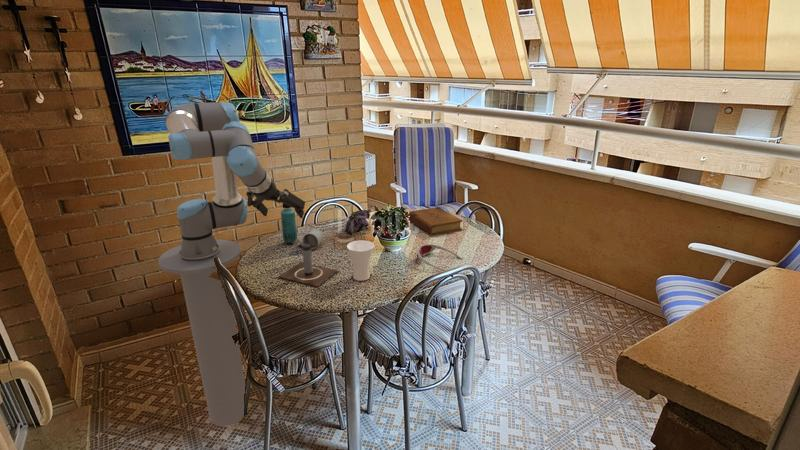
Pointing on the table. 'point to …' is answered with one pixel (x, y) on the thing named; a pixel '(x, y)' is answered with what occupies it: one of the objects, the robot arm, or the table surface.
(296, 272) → the drawing board
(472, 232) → the table surface
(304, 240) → the ceramic mug
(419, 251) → the sunglasses
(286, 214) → the beverage bottle
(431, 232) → the diary
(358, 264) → the cup
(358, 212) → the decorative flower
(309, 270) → the cylinder
